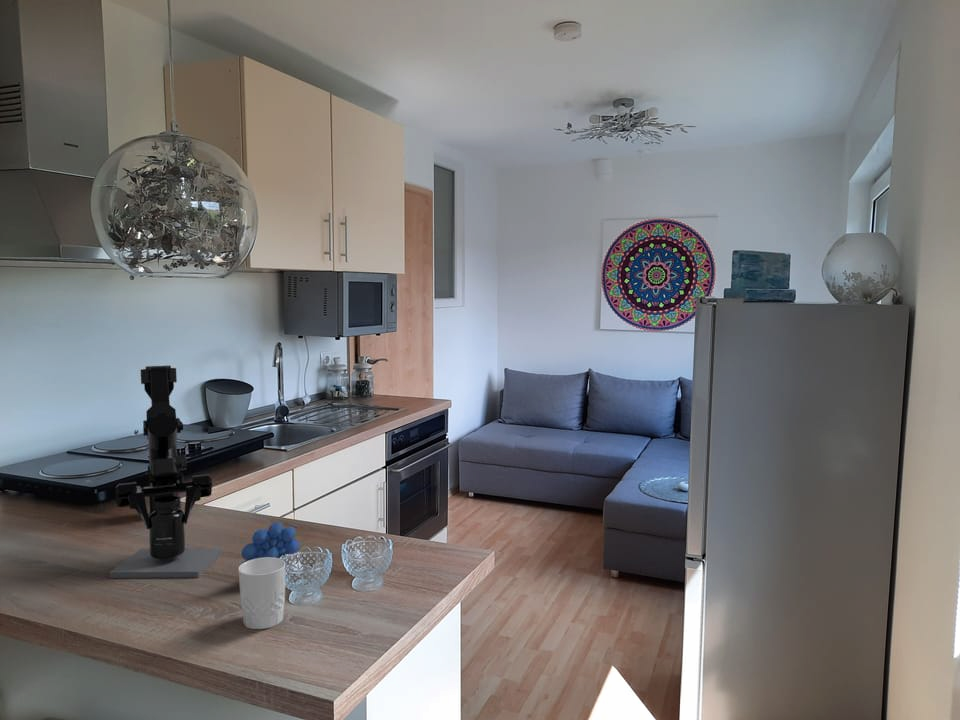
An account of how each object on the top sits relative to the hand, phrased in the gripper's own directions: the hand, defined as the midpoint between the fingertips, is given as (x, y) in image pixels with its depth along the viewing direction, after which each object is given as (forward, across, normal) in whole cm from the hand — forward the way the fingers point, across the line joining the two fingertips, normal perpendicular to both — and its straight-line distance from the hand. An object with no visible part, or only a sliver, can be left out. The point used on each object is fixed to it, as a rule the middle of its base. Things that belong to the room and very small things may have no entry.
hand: (167, 525), depth 139 cm
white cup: (+30, +14, -18) cm, 38 cm away
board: (+6, 0, +7) cm, 9 cm away
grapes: (+18, +18, -5) cm, 26 cm away
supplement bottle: (+4, 0, +6) cm, 7 cm away
